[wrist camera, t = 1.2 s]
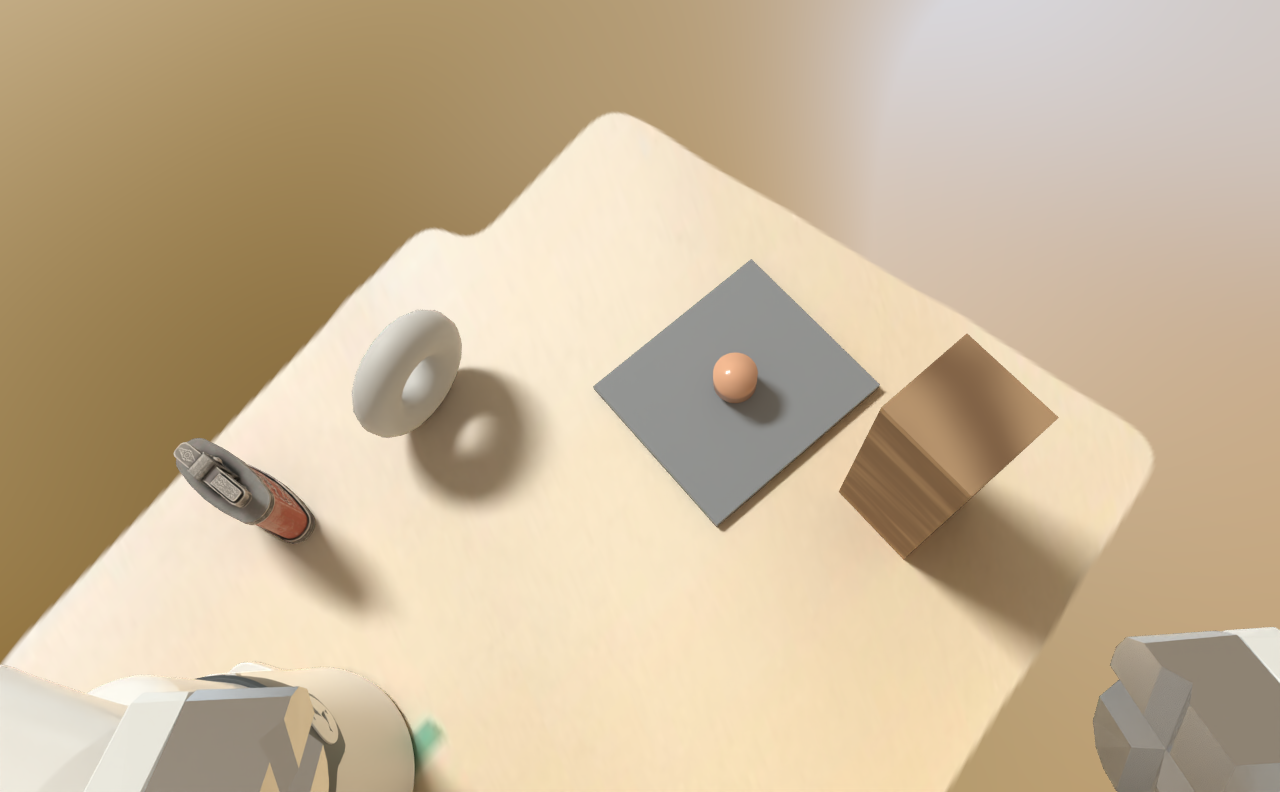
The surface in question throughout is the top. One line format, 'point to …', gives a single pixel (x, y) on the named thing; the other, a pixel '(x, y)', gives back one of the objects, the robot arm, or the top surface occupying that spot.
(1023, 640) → the top surface
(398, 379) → the donut
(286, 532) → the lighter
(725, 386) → the peach round lump
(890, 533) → the block
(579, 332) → the top surface
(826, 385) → the mat
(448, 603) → the top surface
